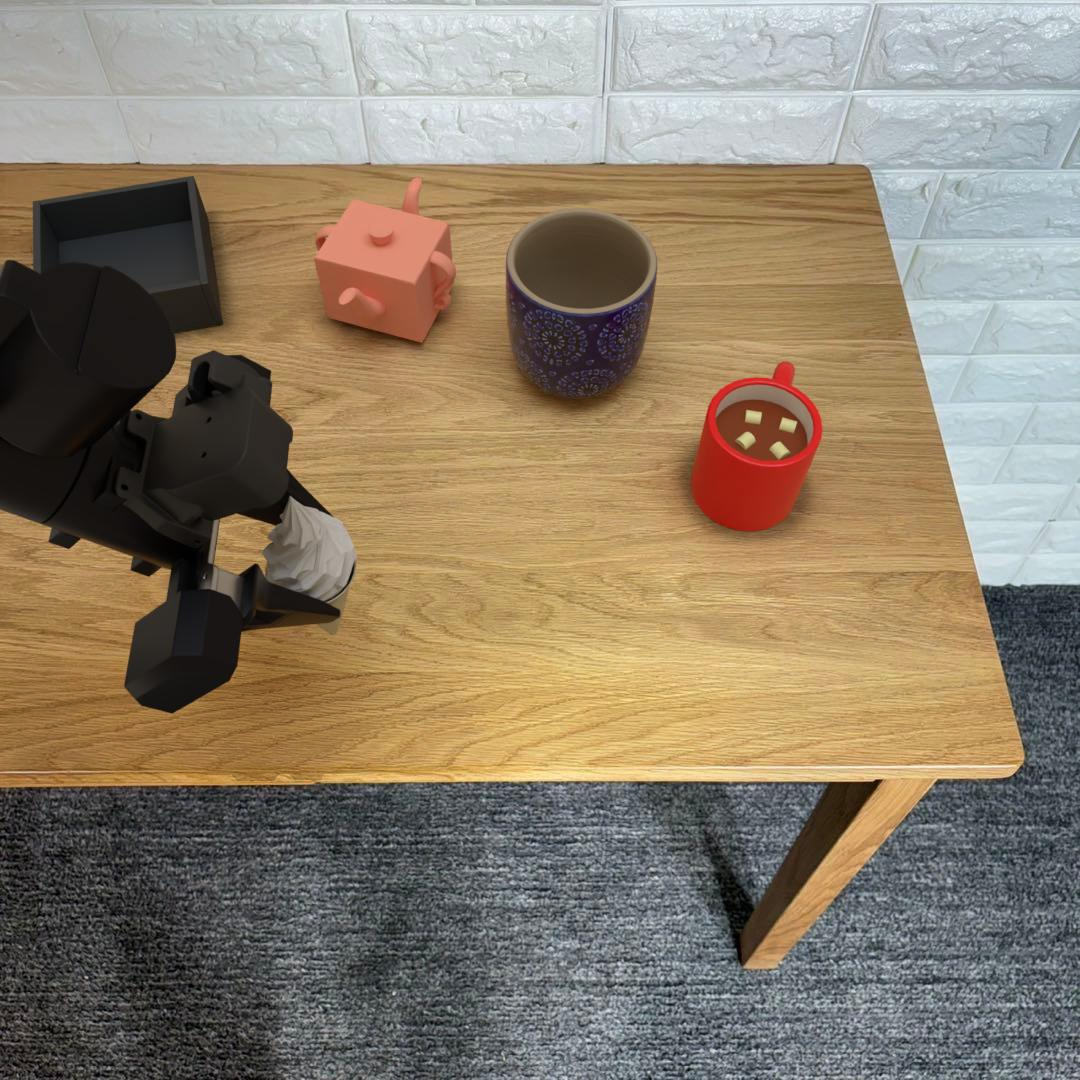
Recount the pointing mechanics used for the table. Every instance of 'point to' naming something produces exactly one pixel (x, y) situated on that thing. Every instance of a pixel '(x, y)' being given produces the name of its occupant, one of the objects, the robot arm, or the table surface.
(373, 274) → the teapot
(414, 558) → the table surface
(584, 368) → the planter
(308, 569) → the ice cream cone
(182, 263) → the storage bin
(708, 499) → the mug
